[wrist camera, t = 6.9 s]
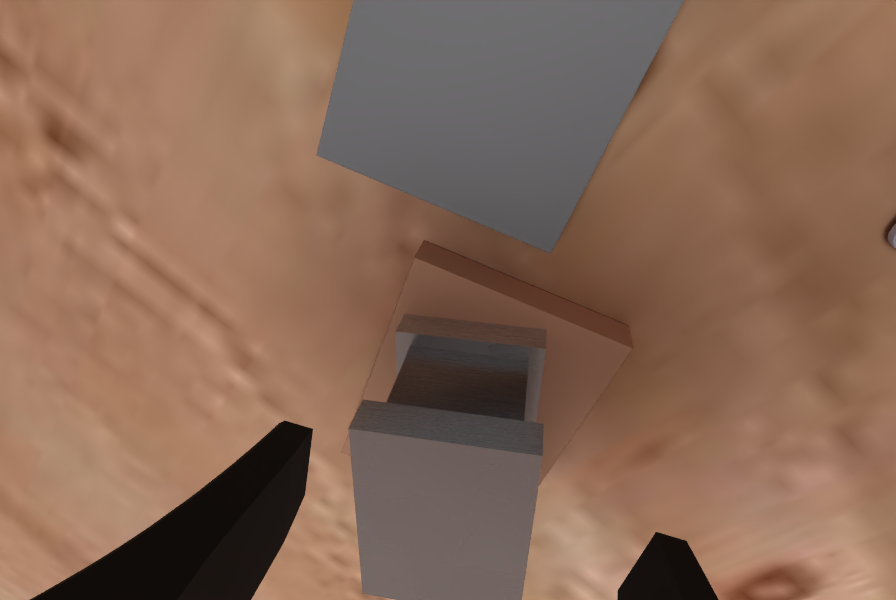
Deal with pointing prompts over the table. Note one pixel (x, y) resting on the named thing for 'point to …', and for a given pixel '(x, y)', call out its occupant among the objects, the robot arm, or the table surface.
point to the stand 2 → (517, 304)
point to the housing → (450, 463)
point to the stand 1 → (489, 101)
